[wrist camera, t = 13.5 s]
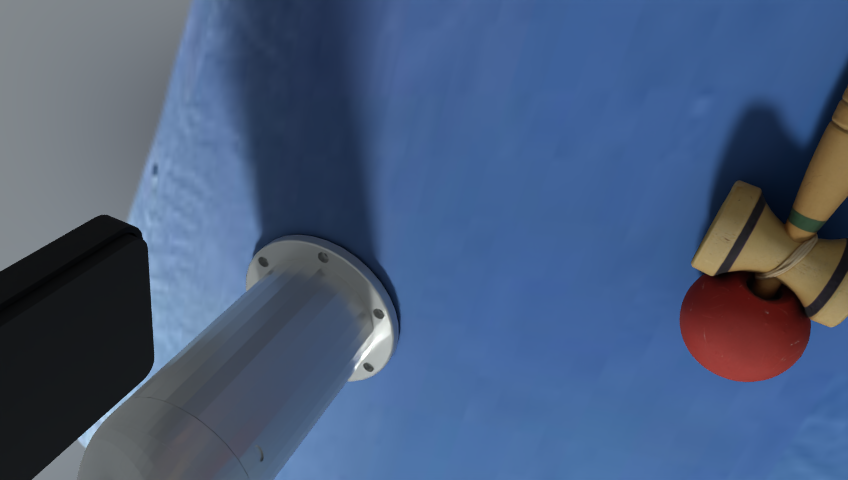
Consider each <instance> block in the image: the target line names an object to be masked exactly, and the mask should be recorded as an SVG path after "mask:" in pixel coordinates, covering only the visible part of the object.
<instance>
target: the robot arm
mask: <svg viewBox="0 0 848 480" xmlns="http://www.w3.org/2000/svg"><path fill="white" fill-rule="evenodd" d="M246 291H247V292H246V293H244V294H243V295H242V296H241V297H240V298H239V299H238V300H237V301H236V302H234V303H233V304H232V305H231V306H230V307H229V308H228V309H227V310H226V311H224V312H223V313H222V314H221V315H220V316H219V317H218V318H217V319H216V320H214V321H213V322H212V323H211V324H210V325H209V326H208V327H207V328H206V329H205V330H203V331H202V332H201V333H200V334H199V335H198V336H197V337H196V338H195V339H193V340H192V341H191V342H190V343H189V344H188V345H187V346H186V347H185V348H183V349H182V350H181V351H180V352H179V353H178V354H177V355H176V356H175V357H173V358H172V359H171V360H170V361H169V362H168V363H167V364H166V365H165V366H164V367H162V368H161V369H160V370H159V371H158V372H157V373H156V374H155V375H154V376H152V377H151V378H150V379H149V380H148V381H147V382H146V383H145V384H144V385H142V387H140V388H139V389H138V390H137V391H136V392H135V393H134V394H133V395H132V396H131V397H130V398H129V399H127V400H126V401H125V402H124V403H123V404H122V405H121V406H119V407H118V408H117V409H116V410H115V411H114V412H113V413H112V414H111V415H110V416H109V417H108V418H107V419H106V420H105V421H104V422H103V423H102V424H101V426H100V427H99V428H98V429H97V431H96V432H95V434H94V435H93V437H92V438H91V440H90V442H89V444H88V446H87V448H86V450H85V453H84V455H83V458H82V461H81V464H80V468H79V472H78V477H77V480H274V478H275V477H276V476H277V474H278V473H279V472H280V470H281V469H282V468H283V466H284V465H285V464H286V462H287V461H288V460H289V458H290V457H291V456H292V454H293V453H294V452H295V450H296V449H297V448H298V446H299V445H300V444H301V442H302V441H303V440H304V438H305V437H306V436H307V434H308V433H309V432H310V430H311V429H312V428H313V426H314V425H315V424H316V422H317V421H318V420H319V418H320V417H321V416H322V414H323V413H324V412H325V410H326V409H327V408H328V406H329V405H330V404H331V402H332V401H333V400H334V398H335V397H336V396H337V394H338V393H339V392H340V390H341V389H342V388H343V386H344V385H345V383H346V382H347V381H358V380H364V379H367V378H369V377H371V376H374V375H375V374H377V373H378V372H379V371H381V370H382V369H383V368H384V366H385V365H386V364H387V363H388V361H389V360H390V359H391V357H392V355H393V353H394V351H395V349H396V346H397V342H398V337H399V328H398V320H397V315H396V311H395V308H394V306H393V303H392V301H391V299H390V296H389V295H388V293H387V291H386V290H385V288H384V287H383V285H382V283H381V282H380V281H379V280H378V278H377V277H376V276H375V275H374V274H373V272H372V271H371V270H370V269H369V268H368V267H367V266H366V265H365V264H363V263H362V262H361V261H360V260H359V259H358V258H357V257H355V256H354V255H352V254H351V253H349V252H348V251H346V250H345V249H343V248H342V247H340V246H338V245H335V244H333V243H331V242H329V241H327V240H324V239H320V238H317V237H313V236H306V235H288V236H283V237H280V238H277V239H275V240H273V241H271V242H270V243H268V244H267V245H266V246H264V247H263V248H262V249H261V250H260V251H259V252H257V253H256V254H255V256H254V257H253V259H252V261H251V262H250V264H249V267H248V271H247V275H246ZM153 363H154V344H153V327H152V311H151V295H150V278H149V262H148V247H147V243H146V242H145V241H144V240H143V238H142V233H141V231H140V230H139V229H138V228H137V227H134V226H132V225H130V224H128V223H125V222H123V221H120V220H118V219H115V218H113V217H111V216H108V215H100V216H97V217H95V218H94V219H91V220H90V221H88V222H86V223H85V224H83V225H81V226H79V227H77V228H76V229H74V230H72V231H70V232H69V233H67V234H65V235H63V236H62V237H60V238H58V239H56V240H55V241H53V242H51V243H49V244H48V245H46V246H44V247H42V248H41V249H39V250H37V251H36V252H34V253H32V254H30V255H29V256H27V257H25V258H23V259H21V260H20V261H18V262H16V263H14V264H13V265H11V266H9V267H8V268H6V269H4V270H2V271H0V480H32V479H33V478H34V477H35V476H36V475H37V474H38V473H40V472H41V471H42V470H43V469H44V468H45V467H46V466H47V465H49V464H50V463H51V462H52V461H53V460H54V459H55V458H56V457H57V456H59V455H60V454H61V453H62V452H63V451H64V450H65V449H66V448H68V447H69V446H70V445H71V444H72V443H73V442H74V441H75V440H77V439H78V438H79V437H80V436H81V435H82V434H83V433H84V432H86V431H87V430H88V429H89V428H90V427H91V426H92V425H93V424H95V423H96V422H97V421H98V420H99V419H100V418H101V417H102V416H103V415H105V414H106V413H107V412H108V411H109V410H110V409H111V408H112V407H114V406H115V405H116V404H117V403H118V402H119V401H120V400H121V399H122V398H124V397H125V396H126V395H127V394H128V393H129V392H130V391H131V390H133V389H134V388H135V387H136V386H137V385H138V384H139V383H140V382H142V381H143V380H144V379H145V378H146V376H147V375H148V374H149V372H150V370H151V368H152V366H153Z"/></svg>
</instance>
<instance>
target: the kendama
mask: <svg viewBox="0 0 848 480" xmlns="http://www.w3.org/2000/svg"><path fill="white" fill-rule="evenodd" d="M842 98H843V99H842V100H841V101H840V102H839V104H838V106H837V108H836V110H835V112H834V114H833V116H832V121H831V122H830V123H829V124H828V126H827V128H826V130H825V132H824V134H823V136H822V138H821V140H820V142H819V144H818V146H817V148H816V150H815V153H814V155H813V157H812V159H811V161H810V164H809V166H808V168H807V170H806V173H805V175H804V178H803V181H802V183H801V186H800V188H799V191H798V193H797V196H796V198H795V201H794V204H793V206H792V209H791V211H790V214H789V217H788V218H787V221H786V224H784V223H782V222H781V221H780V220H779V219H778V218H777V217H776V216H775V214H774V213H773V212H772V211H771V209H770V208H769V206H768V204H767V203H766V200H765V198H764V196H763V193H762V190H761V188H759V187H756V186H753V185H751V184H748V183H745V182H743V181H740V180H738V181H737V182H735V183H734V185H733V187H732V189H731V191H730V193H729V194H728V196H727V198H726V199H725V201H724V203H723V204H722V206H721V208H720V210H719V211H718V213H717V215H716V217H715V218H714V220H713V222H712V224H711V226H710V227H709V229H708V231H707V233H706V235H705V237H704V238H703V241H702V242H701V244H700V246H699V248H698V250H697V252H696V254H695V255H694V257H693V259H692V261H691V264H692V267H694V268H696V269H698V270H700V271H702V272H704V273H705V274H704V275H702V276H701V277H700V278H699V279H698V280H696V281H695V282H694V283H693V285H692V286H691V287H690V288H689V290H688V292H687V293H686V295H685V297H684V300H683V302H682V306H681V311H680V328H681V334H682V337H683V340H684V342H685V345H686V346H687V348H688V350H689V352H690V353H691V354H692V356H693V357H694V358H695V359H696V360H697V361H698V362H699V363H700V364H701V365H702V366H704V367H705V368H706V369H708V370H709V371H711V372H713V373H715V374H716V375H719V376H721V377H724V378H727V379H730V380H734V381H741V382H754V381H761V380H766V379H769V378H772V377H775V376H777V375H779V374H781V373H783V372H784V371H786V370H787V369H789V368H790V367H791V366H792V365H793V364H794V363H795V362H796V361H797V360H798V359H799V358H800V357H801V355H802V354H803V352H804V350H805V348H806V346H807V344H808V341H809V336H810V329H811V321H810V319H811V320H813V321H815V322H818V323H820V324H823V325H826V326H828V327H834V326H836V325H838V324H840V323H841V322H842V321H843V320H844V319H845V318H846V317H847V316H848V238H844V239H835V240H834V239H833V240H827V239H818V236H817V232H818V230H819V229H820V228H821V227H822V226H823V225H824V224H825V223H826V221H827V220H828V219H829V218H830V216H831V215H832V214H833V213H834V212H835V211H836V209H837V208H838V207H839V206H840V205H841V203H842V202H843V201H844V200H845V199H846V198H847V196H848V86H847V88H846V90H845V92H844V94H843V96H842Z"/></svg>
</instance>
